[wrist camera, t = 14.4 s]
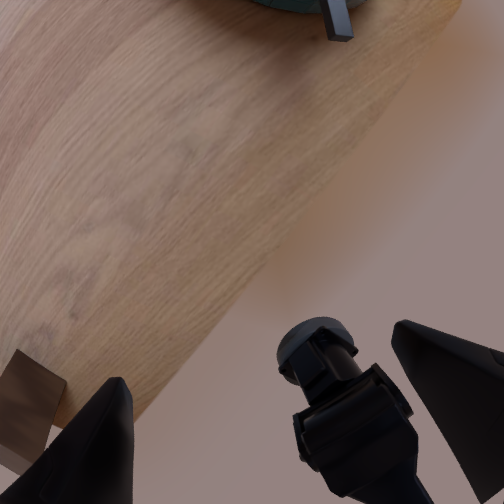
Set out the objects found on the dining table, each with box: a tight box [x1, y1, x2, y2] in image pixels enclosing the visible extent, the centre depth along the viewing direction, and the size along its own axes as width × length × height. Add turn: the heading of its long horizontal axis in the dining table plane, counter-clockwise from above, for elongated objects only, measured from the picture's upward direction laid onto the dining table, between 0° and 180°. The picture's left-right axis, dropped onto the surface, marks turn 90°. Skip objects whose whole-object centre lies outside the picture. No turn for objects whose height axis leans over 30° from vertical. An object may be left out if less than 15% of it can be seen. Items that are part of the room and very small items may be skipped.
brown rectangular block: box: [0, 349, 66, 476], centre depth 17 cm, size 6×6×10 cm
